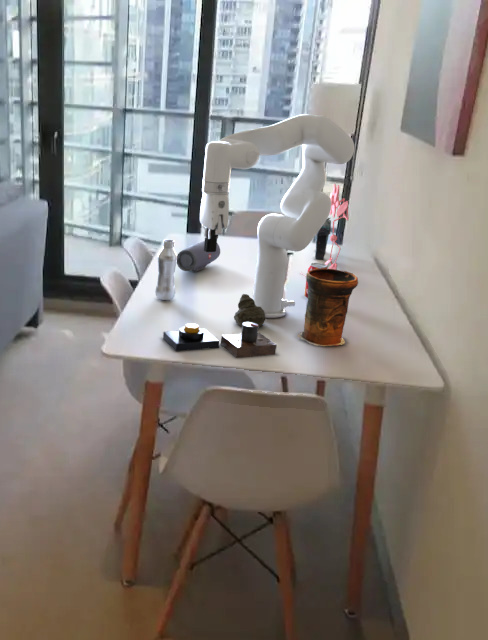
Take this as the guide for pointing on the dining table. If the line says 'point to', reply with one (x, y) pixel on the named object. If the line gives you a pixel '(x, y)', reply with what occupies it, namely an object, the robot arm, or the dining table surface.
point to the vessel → (327, 305)
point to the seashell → (249, 312)
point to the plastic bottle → (166, 271)
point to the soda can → (313, 266)
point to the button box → (190, 340)
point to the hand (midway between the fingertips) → (209, 251)
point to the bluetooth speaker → (196, 257)
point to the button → (192, 328)
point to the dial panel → (248, 346)
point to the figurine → (341, 210)
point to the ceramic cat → (322, 240)
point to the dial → (249, 332)
